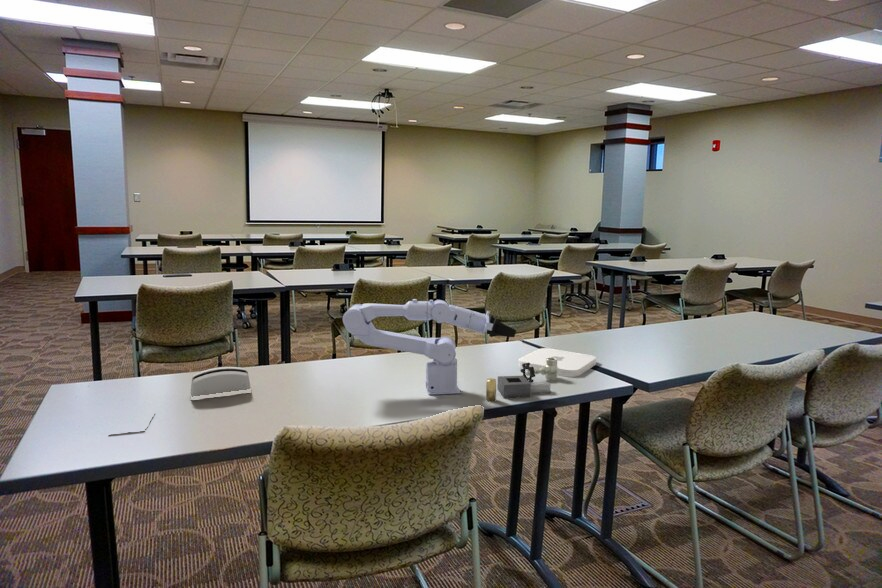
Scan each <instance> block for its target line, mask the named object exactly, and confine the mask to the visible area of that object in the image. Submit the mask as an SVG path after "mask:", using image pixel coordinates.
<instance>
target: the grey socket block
mask: <svg viewBox="0 0 882 588" xmlns="http://www.w3.org/2000/svg"><path fill="white" fill-rule="evenodd" d="M551 386H552V385H551V383H550V382H549V381H540V382H539V381H538V382H534V381H533V382H529V381H528V380H527V379H526V378H525V377H524V376H523V375H506V376H505V375H501V376H497V383H496V390H497V391H498V392H499V394H500V395H501V396H502V398H503V399H514V398H516V397H519V398H530V397H531V395H532V394H534V395H535V394H551ZM516 399H517V398H516Z"/></svg>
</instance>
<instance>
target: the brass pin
mask: <svg viewBox="0 0 882 588" xmlns="http://www.w3.org/2000/svg"><path fill="white" fill-rule="evenodd" d="M485 381H486V382H485V383H486V385H485V386H486V391H485V398H486V399H485V400H487V401H486V402H489V401H494V402H496V401H497V379H496V378H487V379H486V380H485ZM495 400H496V401H495Z"/></svg>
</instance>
